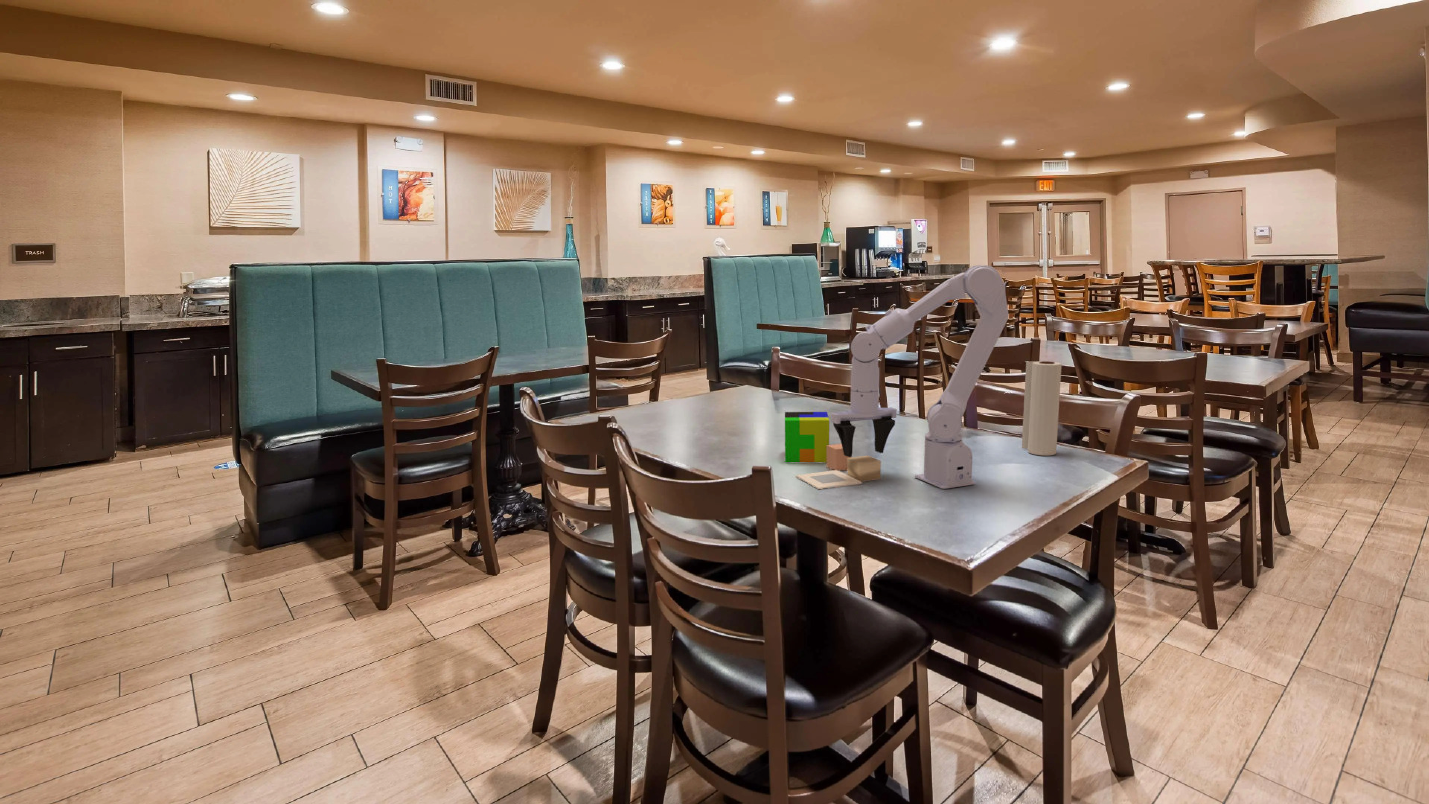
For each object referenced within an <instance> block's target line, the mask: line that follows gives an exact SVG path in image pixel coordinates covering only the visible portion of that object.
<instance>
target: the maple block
mask: <svg viewBox="0 0 1429 804" xmlns="http://www.w3.org/2000/svg"><path fill="white" fill-rule="evenodd" d="M881 466H882V461H881V460H880V459H877V458H874V457H872V456H871V455H862V456H861V455H860V456H855V457H853V456H852V458H847V470H846V472H847V474H846V475H848V476H851V477H853V478H855V479H857V480H859V481H862V482H867V481H875V480H881V474H882V473H881V472H882V471H881V468H882V467H881Z"/></svg>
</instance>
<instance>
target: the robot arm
mask: <svg viewBox="0 0 1429 804" xmlns="http://www.w3.org/2000/svg"><path fill="white" fill-rule="evenodd" d="M966 294H967V295H966ZM1006 294H1007V293H1006V283H1005V282H1004V280H1003V279H1002V276H1001V275H1000V273H999V271H998V270H997V269H996V268H994V267H992V266H991V265H986V264H985V265H983V264H979V265H978V264H977V265H973V266H971V267H969V268H968V269H967V270H965V272H960V273H958V274H956V275H954V276H952V277H950V278H948V279H947V280H945V281H944V282H942V283H941V284H939V285H938V286H937V287H935V288H934V289H932V290H931V291H930V292H928V293H926V295H924V296H923V297H921V298H920V299H919V300H918V301H916V302H915V303H913V304H912V305H910V306H909V307H908V308H907V309H905V308H904V309H902V308H897V307H896V308H895V309H893V310H892V309H888V310H887V311H885V312H884V315H885V316H883V317H881V318H880V319H879V320H877V321H875V323H873V324H868V325H866V326H865V331H862V332H858V333H857V334H856V335H855V337H854V338H853V340H852V341H851V344H850V351H851V355H852V358H851V366H852V367H851V368H850V409H847V410H843V411H837V412H831V421H830V422H831V423H833V427H834V429H835V431H836V432H837V435H838V438H839V439H840V442H841V443H840V444H842V448H843V452H844V455H845V456H847V457H853V442H854V436H855V432H856V426H855V425H852V422H859V421H862V422H863V421H871V420H872V424H873V431H874V451H875V452H876V453H879V454H884V451H885V448H886V444H887V440H888V437H889V435H890V433H891V431H892V430H893V428H894V427H895V425H896V420H895V419H897V412H898V411H897V408H895V407H880V405H879V403H880V402H879V399H880V398H879V397H880V367H879V356H880V353H881V351H882V350H887V349H889V348H890V347H892V346H893V345H895V344H897V343H898V342H899V341H901V340H903V339H904V338H905V337H907V336H908V335H910V334H911V333H913V331H914V328H915V324H916V322H918V321H919V320H921V319H923V317H925V316H927V315H928V314H930V313H931V312H933V311H934V310H936V309H938V308H939V307H942V306H943V305H944V304H946V303H948V302H949V301H951V300H952V301H953V300H960V299H961V300H962V299H967V296H968V297H969V298H970V299H971V300H972V301H973V302H974V305H975V308H976V310H977V312H978V315H979V316H980V317H979V320H978V322H977V324H976V326H975V328H974V330H973V332H972V334H971V337H970V338H969V340H968V342H967V345H966V347H965V349H964V351H963V353H962V355H961V357H960V358H959V361H958V363H957V365H956V367H955V370H954V371H953V373H952V375H951V377H950V379H949V382H948V384H947V385H946V388H945V389H944V391H943V392H942V393H941V395H940V397H939V399H938V401H937V402H935V404H933V405H931V407H929V409H928V411H927V412H926V413H927V414H926V421H927V423H928V425H927V427H928V430H929V431H928V432H927V433H926V434H925V435H924V455H923V456H924V459H923V460H924V461H923V462H924V463H923V464H924V465H923V473H921V474H920V473H919V474H915V475H914V478H915V479H918V480H920V481H923V482H925V483H928V484H930V485H932V486H934V487H938V488H939V489H942V490H944V489H951V488H957V487H958V488H960V487H964V486H971V485H976V483H975V482H976V481H974V480H972V478H973V477H972V476H973V453H972V449H971V448H970V447H969V446H968V445H966V444H965V443H964V441H963V436H962V435H961V431H962V429H963V428H962V426H963V424H962V422H963V421H962V419H963V417H964V413H965V411H966V409H967V403H968V401H969V398H970V396H972V395H971V394H972V392H973V390H974V388H975V386H976V384H977V382H978V380H979V378H980V376H981V374H982V372H983V370H984V368H985V366H986V364H987V362H988V360H989V358H990V356H991V354H992V352H993V350H994V348H995V346H996V343H997V342H998V341H999V338H1000V336H1001V334H1002V331H1003V329H1004V328H1005V326H1006V323H1007V321H1008V319H1009V309H1008V302H1007V296H1006Z"/></svg>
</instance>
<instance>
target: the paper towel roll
mask: <svg viewBox="0 0 1429 804" xmlns="http://www.w3.org/2000/svg"><path fill="white" fill-rule="evenodd" d="M1025 363H1026V364H1025V378H1024V379H1025V381H1024V382H1025V383H1024V398H1023V399H1024V400H1023V416H1022V438H1021V449H1025V450H1027V452H1028V453H1029V454H1031V455H1035V456H1054V455H1056V454H1057V446H1058V444H1057V443H1058V428H1059V411H1060V396H1061V393H1060V392H1061V380H1062V377H1061V376H1062V366H1063V365H1062V364H1063V363H1061V362H1058V361H1057V362H1055V361H1046V360H1045V361H1044V360H1042V361H1037V360H1036V361H1035V360H1034V361H1032V360H1031V361H1029V360H1028V361H1025Z"/></svg>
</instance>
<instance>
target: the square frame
mask: <svg viewBox="0 0 1429 804" xmlns="http://www.w3.org/2000/svg"><path fill="white" fill-rule="evenodd" d="M796 477H797V478H796ZM795 478H796V479H798V478H800V479H801V480H800V479H799V480H800V481H802V480H803V481H805V482H807V483H808V484H807V483H806V484H807V485H809V484H811V485H812V486H813V488H814V487H816V488H817V489H816V488H815V489H816V490H818V489H821V490H824V489H823V488H828V489H830V488H829V487H835V488H841V487H847V486H855V485H861V484H863V481H862V482H861V481H859V480H857V479H855V478H853V477H851V476H848V475H847V474H846V473H844V472H843V471H838V470H827V471H819V472H813V473H805V474H804V473H803V474H797V475H795ZM803 481H802V482H803ZM805 482H804V483H805ZM811 485H810V486H811ZM812 486H811V487H812Z"/></svg>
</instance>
